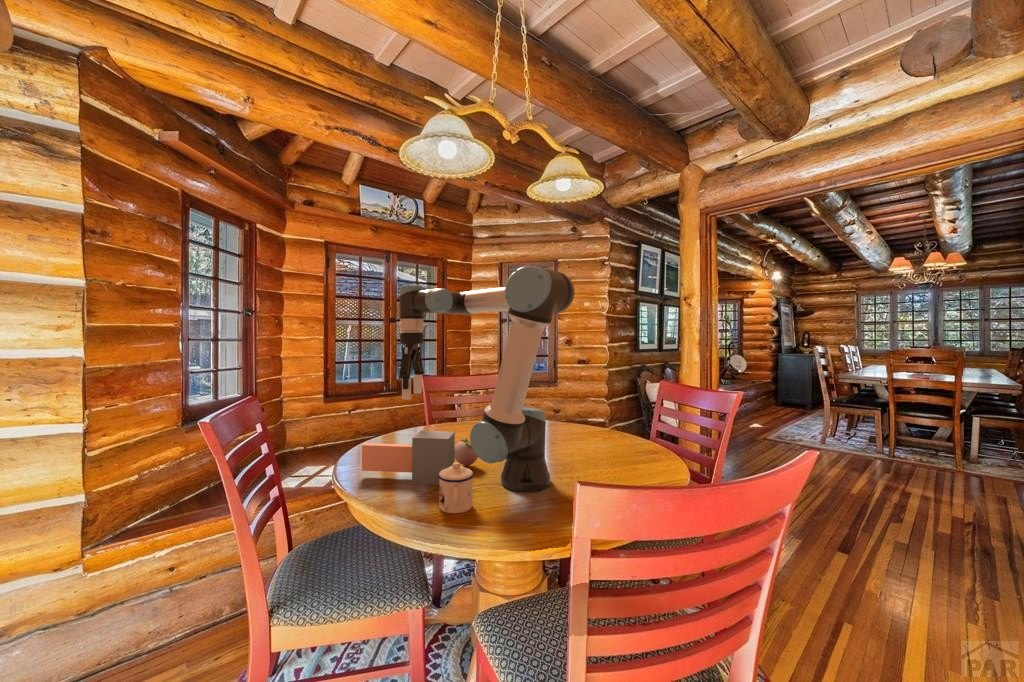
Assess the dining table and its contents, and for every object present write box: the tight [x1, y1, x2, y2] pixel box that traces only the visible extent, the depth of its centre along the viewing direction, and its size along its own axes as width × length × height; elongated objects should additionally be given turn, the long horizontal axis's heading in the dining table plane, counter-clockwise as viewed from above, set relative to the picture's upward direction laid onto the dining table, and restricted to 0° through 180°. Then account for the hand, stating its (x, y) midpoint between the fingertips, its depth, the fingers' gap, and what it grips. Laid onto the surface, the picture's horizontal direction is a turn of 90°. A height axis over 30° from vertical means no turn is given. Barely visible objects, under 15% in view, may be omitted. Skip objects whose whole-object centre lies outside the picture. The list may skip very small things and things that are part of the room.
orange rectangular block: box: [361, 442, 412, 474], centre depth 130 cm, size 16×2×8 cm, turn 86°
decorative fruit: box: [454, 437, 479, 468], centre depth 141 cm, size 9×8×10 cm
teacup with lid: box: [438, 461, 474, 514], centre depth 108 cm, size 12×9×12 cm
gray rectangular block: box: [411, 430, 456, 486], centre depth 129 cm, size 11×9×14 cm
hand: (412, 396), depth 137 cm, fingers open, 13 cm apart
